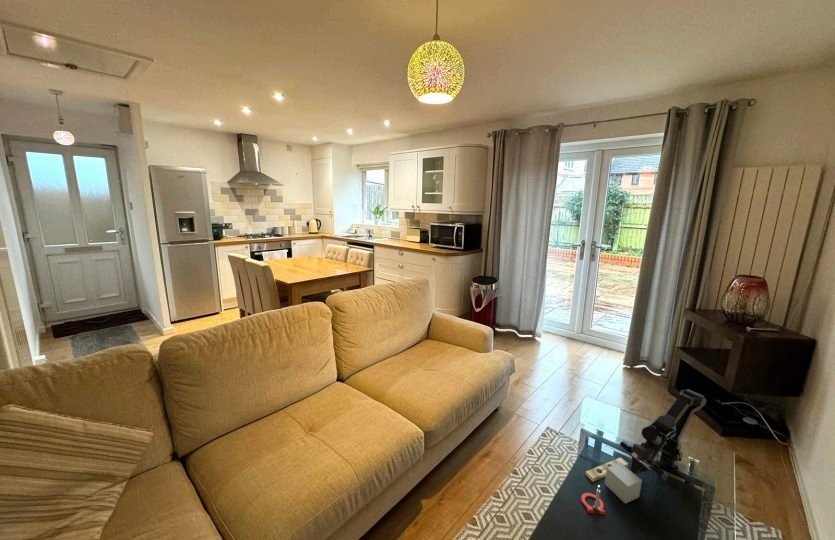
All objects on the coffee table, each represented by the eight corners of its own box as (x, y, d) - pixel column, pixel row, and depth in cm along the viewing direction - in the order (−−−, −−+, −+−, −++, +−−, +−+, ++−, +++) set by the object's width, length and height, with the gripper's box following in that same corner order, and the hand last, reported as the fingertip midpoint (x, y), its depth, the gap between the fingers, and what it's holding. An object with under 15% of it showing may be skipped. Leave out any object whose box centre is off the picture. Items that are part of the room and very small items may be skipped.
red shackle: (578, 493, 142) (585, 513, 133) (580, 468, 139) (588, 486, 130) (598, 496, 141) (607, 516, 132) (601, 470, 138) (611, 489, 129)
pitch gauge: (620, 460, 158) (620, 457, 157) (627, 466, 154) (628, 463, 154) (585, 474, 151) (586, 471, 150) (592, 481, 147) (593, 478, 146)
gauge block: (617, 478, 148) (620, 462, 146) (639, 497, 139) (641, 480, 137) (604, 484, 146) (607, 467, 143) (625, 503, 136) (628, 486, 134)
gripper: (624, 425, 148) (604, 452, 147) (667, 455, 131) (644, 486, 130) (634, 435, 153) (614, 461, 152) (677, 465, 136) (655, 495, 135)
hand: (630, 475), depth 142 cm, fingers closed
